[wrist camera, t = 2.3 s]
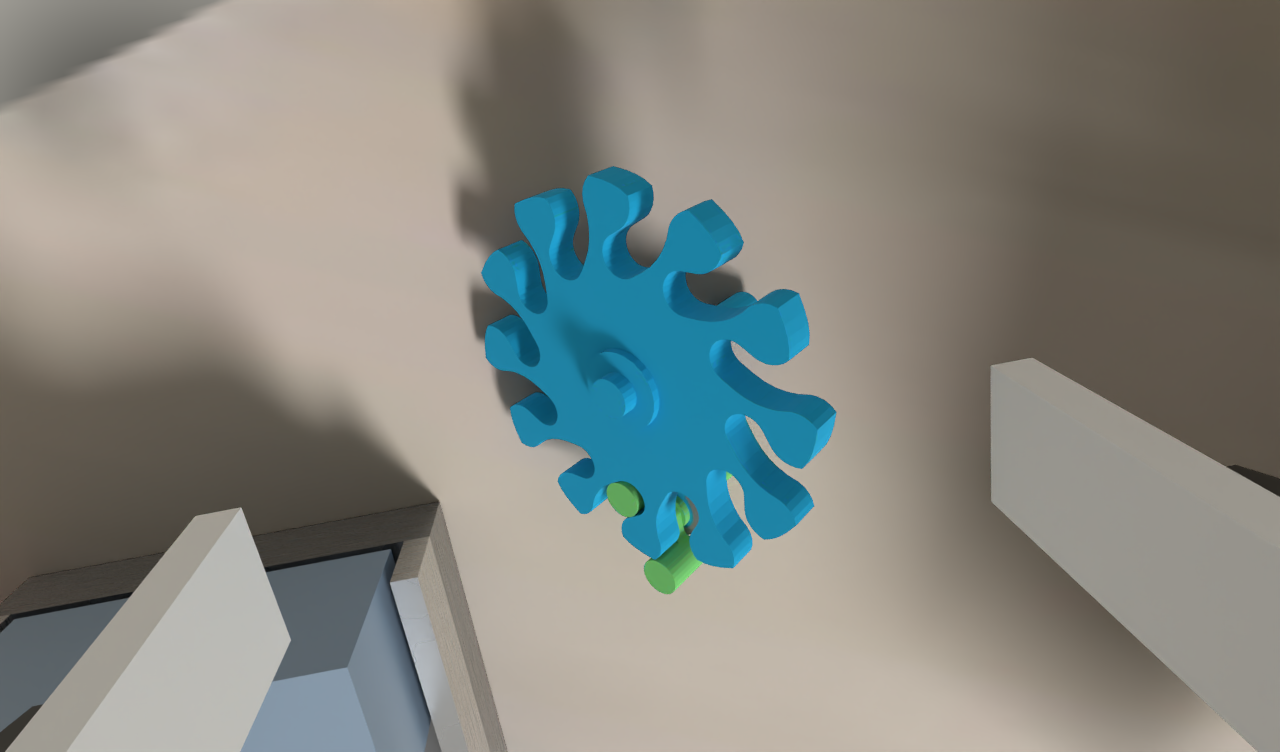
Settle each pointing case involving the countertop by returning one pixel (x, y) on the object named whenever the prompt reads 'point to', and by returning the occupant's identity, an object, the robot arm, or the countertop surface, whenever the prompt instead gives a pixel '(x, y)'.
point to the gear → (654, 375)
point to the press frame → (421, 584)
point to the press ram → (306, 678)
